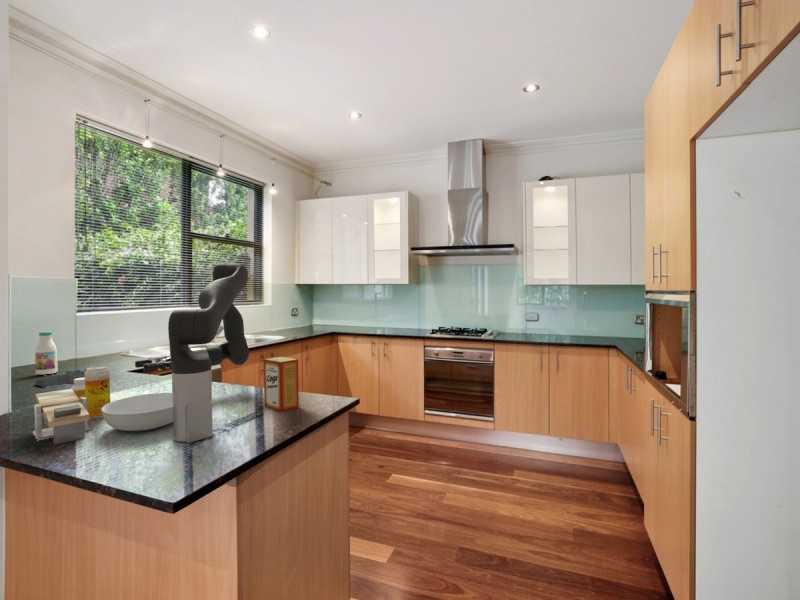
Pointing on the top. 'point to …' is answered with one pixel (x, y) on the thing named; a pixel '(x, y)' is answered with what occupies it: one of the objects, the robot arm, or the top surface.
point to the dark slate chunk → (61, 378)
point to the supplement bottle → (79, 387)
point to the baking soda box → (281, 383)
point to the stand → (60, 428)
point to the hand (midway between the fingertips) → (139, 366)
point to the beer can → (97, 390)
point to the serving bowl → (139, 412)
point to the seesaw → (61, 407)
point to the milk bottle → (46, 354)
